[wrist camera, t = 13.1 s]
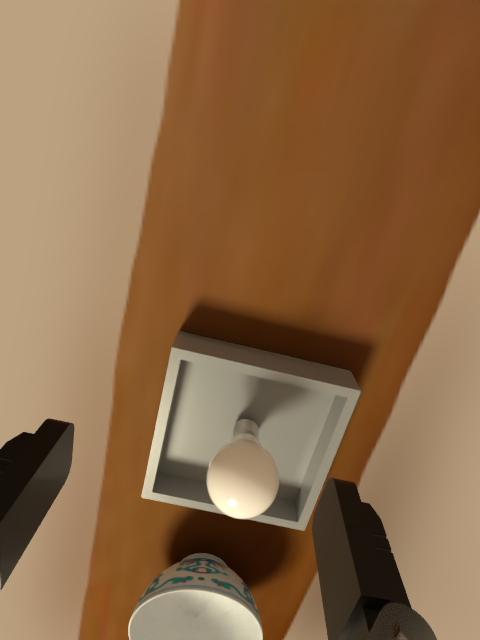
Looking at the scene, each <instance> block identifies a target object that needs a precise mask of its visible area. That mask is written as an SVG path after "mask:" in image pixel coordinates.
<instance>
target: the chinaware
mask: <svg viewBox="0 0 480 640" xmlns="http://www.w3.org/2000/svg"><path fill="white" fill-rule="evenodd" d="M128 634H129V639H130V640H263V631H262V625H261V621H260V616H259V613H258V610H257V606H256V604H255V601H254V599H253V597H252V595H251V593H250V591H249V589H248V587H247V586H246V584H245V583H244V582H243V580H242V579H241V578H240V577H239V576H238V575H237V574H236V573H235V572H234V571H233V570H231V569H230V568H229V567H227V565H226V564H225V563H224V561H222V560H221V559H220V558H218V557H216V556H214V555H211V554H206V553H197V554H192V555H189V556H187V557H185V558H184V559H183V560H182V561H181V562H179V563H176V564H174V565H172V566H170V567H169V568H167V569H166V570H164V571H163V572H162V573H161V574H159V575H158V576H157V577H156V578H155V579H154V580H153V581H152V582H151V584H150V585H149V586H148V587H147V589H146V590H145V592H144V593H143V595H142V596H141V598H140V600H139V601H138V603H137V605H136V607H135V609H134V611H133V614H132V616H131V619H130V622H129V627H128Z"/></svg>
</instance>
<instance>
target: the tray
mask: <svg viewBox="0 0 480 640" xmlns="http://www.w3.org/2000/svg"><path fill="white" fill-rule="evenodd" d="M360 393H361V390H360V388H359V386H358V384H357V382H356V380H355V378H354V376H353V374H352V372H351V371H349V370H345V369H341V368H336V367H332V366H328V365H324V364H319V363H315V362H311V361H306V360H302V359H298V358H294V357H289V356H285V355H281V354H277V353H272V352H268V351H264V350H260V349H255V348H251V347H247V346H243V345H238V344H234V343H230V342H225V341H221V340H217V339H213V338H208V337H204V336H200V335H196V334H191V333H187V332H183V331H179V332H178V334H177V337H176V339H175V341H174V343H173V346H172V349H171V354H170V359H169V364H168V368H167V373H166V378H165V383H164V388H163V393H162V398H161V403H160V408H159V413H158V418H157V422H156V427H155V432H154V437H153V442H152V447H151V452H150V457H149V462H148V467H147V472H146V476H145V481H144V486H143V491H142V496H141V497H142V498H146V499H151V500H156V501H161V502H166V503H171V504H176V505H181V506H185V507H190V508H195V509H200V510H205V511H210V512H215V513H219V514H224V513H223V512H221V511H220V510H219V509H218V508H217V507H216V506H215V505H214V503H213V502H212V500H211V498H210V496H209V493H208V489H207V471H208V467H209V464H210V462H211V460H212V458H213V457H214V455H215V454H216V453H217V452H218V451H219V450H220V449H221V448H222V447H224V446H225V445H227V444H229V442H230V440H231V439H232V435H233V427H234V425H235V423H236V422H237V421H239V420H241V419H250V420H252V421H254V422H255V423H256V424H257V425H258V428H259V442H260V444H261V446H262V447H263V448H265V449H266V450H267V451H268V452H269V453H270V454H271V456H272V457H273V459H274V461H275V463H276V465H277V468H278V472H279V488H278V492H277V495H276V497H275V499H274V501H273V503H272V504H271V506H270V507H269V508H268V509H267V510H266V511H265V512H263V513H262V514H260V515H258V516H256V517H254V518H250V519H249V520H253V521H258V522H263V523H268V524H273V525H278V526H283V527H287V528H292V529H297V530H302V531H304V530H305V528H306V526H307V523H308V521H309V518H310V516H311V513H312V511H313V508H314V506H315V503H316V501H317V499H318V496H319V494H320V491H321V489H322V486H323V484H324V481H325V479H326V476H327V474H328V472H329V469H330V467H331V464H332V462H333V459H334V457H335V454H336V452H337V449H338V447H339V445H340V442H341V440H342V437H343V435H344V432H345V430H346V427H347V425H348V422H349V420H350V417H351V415H352V413H353V410H354V408H355V405H356V403H357V400H358V398H359V395H360ZM224 515H226V514H224Z"/></svg>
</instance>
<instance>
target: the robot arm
mask: <svg viewBox="0 0 480 640" xmlns="http://www.w3.org/2000/svg"><path fill="white" fill-rule="evenodd" d="M73 437H74V424H73V423H68V422H63V421H58V420H54V419H46V420H45V421H44V422H43V424H42V425H41V426H40V427H39V429H38V430H37V431H36V433H35V434H32V433H27V432H23V433H21V434H20V435H18V436H16V437H15V438H13V439H11V440H10V441H8V442H6V443H5V445H4V446H3V447H2V448H1V449H0V591H1V589H2V588H3V586H4V584H5V583H6V581H7V579H8V577H9V576H10V574H11V573H12V571H13V569H14V568H15V566H16V564H17V563H18V561H19V559H20V557H21V556H22V554H23V552H24V551H25V549H26V547H27V546H28V544H29V542H30V541H31V539H32V537H33V536H34V534H35V532H36V531H37V529H38V527H39V525H40V524H41V522H42V520H43V519H44V517H45V515H46V514H47V512H48V510H49V509H50V507H51V505H52V503H53V502H54V500H55V499H56V497H57V495H58V493H59V492H60V490H61V488H62V487H63V485H64V483H65V481H66V479H67V477H68V474H69V471H70V467H71V462H72V451H73V439H74V438H73ZM312 532H313V540H314V547H315V554H316V560H317V567H318V574H319V581H320V587H321V594H322V601H323V608H324V614H325V621H326V627H327V635H328V640H437V638H436V636H435V634H434V632H433V631H432V629H431V627H430V626H429V625H428V623H427V622H426V621H425V619H424V618H423V617H422V616H421V615H420V614H418V613H417V612H416V611H415V610H413V609H412V608H411V605H410V602H409V600H408V597H407V594H406V591H405V588H404V585H403V582H402V580H401V576H400V573H399V571H398V568H397V565H396V562H395V559H394V556H393V553H391V547H390V544H389V541H388V539H386V533H385V530H384V527H383V524H382V521H381V519H380V517H379V516H378V515H377V513H376V512H375V511H374V509H373V508H372V506H371V505H370V504H368V503H364V502H361V500H360V496H359V493H358V490H357V487H356V484H355V483H354V482H349V481H345V480H340V479H335V478H329V479H328V481H327V483H326V485H325V488H324V490H323V493H322V495H321V498H320V500H319V503H318V505H317V508H316V510H315V513H314V517H313V525H312Z"/></svg>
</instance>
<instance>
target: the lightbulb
mask: <svg viewBox="0 0 480 640" xmlns="http://www.w3.org/2000/svg"><path fill="white" fill-rule="evenodd" d="M278 488H279V472H278V468H277V465H276V463H275V461H274V459H273V457H272V456H271V454H270V453H269V452H268V451H267V450H266V449H265V448H263V447H262V446H261V444H260V442H259V428H258V425H257V424H256V423H255V422H254V421H252V420H250V419H241V420H239V421H237V422H236V423H235V425H234V427H233V435H232V439H231V440H230V442H229V444H227V445H225V446H224V447H222V448H221V449H220V450H219V451H218V452H217V453H216V454H215V455H214V457H213V458H212V460H211V462H210V464H209V467H208V471H207V489H208V493H209V496H210V498H211V500H212V502H213V503H214V505H215V506H216V507H217V508H218V509H219V510H220V511H221V512H223V513H224V514H226V515H228V516H230V517H232V518H236V519H250V518H254V517H256V516H258V515H260V514H262V513H263V512H265V511H266V510H267V509H268V508H269V507H270V506H271V504H272V503H273V501H274V499H275V497H276V495H277V492H278Z"/></svg>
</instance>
